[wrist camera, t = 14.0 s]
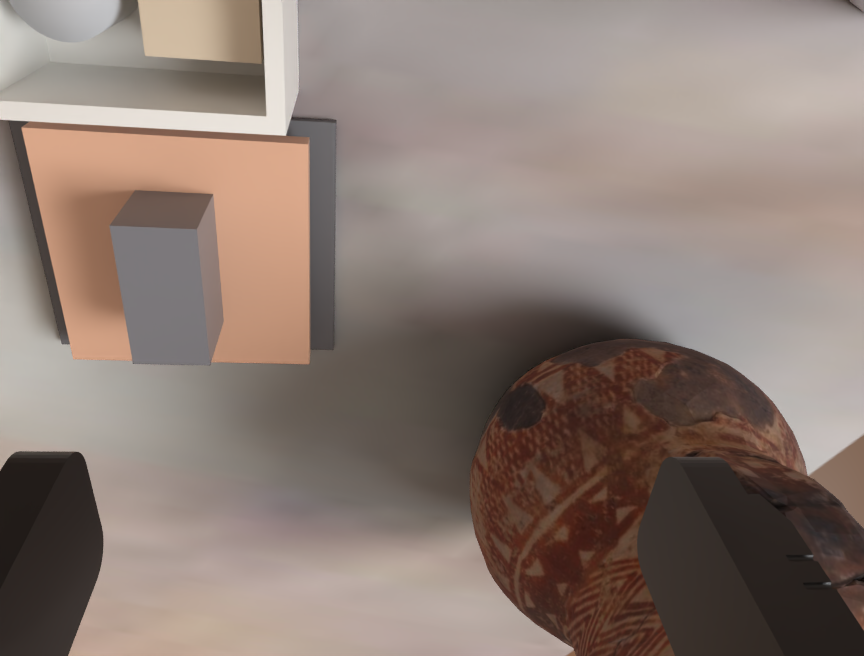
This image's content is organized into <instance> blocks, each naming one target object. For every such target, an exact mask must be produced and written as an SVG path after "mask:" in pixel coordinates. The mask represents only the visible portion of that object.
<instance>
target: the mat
mask: <svg viewBox="0 0 864 656" xmlns="http://www.w3.org/2000/svg"><path fill="white" fill-rule="evenodd" d="M28 122H30V121H15V120H9V124H10V128H11V132H12V136H13V140H14V145H15V149H16V153H17V157H18V161H19V166H20V170H21V174H22V178H23V183H24V187H25V191H26V195H27V199H28V204H29V208H30V212H31V216H32V220H33V225H34V229H35V233H36V237H37V242H38V246H39V250H40V254H41V258H42V263H43V267H44V271H45V275H46V279H47V284H48V288H49V292H50V296H51V301H52V305H53V309H54V313H55V317H56V322H57V326H58V330H59V334H60V338H61V343H62V344H70V342H69V337H68V333H67V328H66V324H65V319H64V315H63V310H62V306H61V302H60V297H59V293H58V288H57V284H56V279H55V275H54V270H53V266H52V262H51V257H50V253H49V248H48V244H47V239H46V235H45V230H44V226H43V222H42V217H41V213H40V208H39V204H38V199H37V195H36V190H35V186H34V182H33V177H32V173H31V168H30V164H29V159H28V155H27V150H26V146H25V142H24V137H23V133H22V128H21V127H23V126H24V125H25V124H27V123H28ZM280 136H281V135H280ZM286 136H297V137H309V153H310V349H320V350H333V348H334V273H335V186H336V120H322V119H305V118H291V120H290V123H289V127H288V130H287V134H286Z"/></svg>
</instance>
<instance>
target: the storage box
mask: <svg viewBox="0 0 864 656" xmlns="http://www.w3.org/2000/svg"><path fill="white" fill-rule="evenodd" d="M298 92H299V56H298V0H0V120H15V121H32V122H50V123H68V124H86V125H104V126H121V127H139V128H157V129H175V130H192V131H210V132H228V133H246V134H263V135H281V136H286V134H287V130H288V127H289V123H290V120H291V116H292V113H293V109H294V106H295V102H296V99H297V96H298Z"/></svg>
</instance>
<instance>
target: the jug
mask: <svg viewBox="0 0 864 656" xmlns="http://www.w3.org/2000/svg"><path fill="white" fill-rule="evenodd" d="M668 457H719V458H722V459H724V460H725V461H726V462H727V463H728V464H729V466H730V467H731V468H732V470H733V472H734V473H735V475H736V476H737V478H738V480H739V481H740V483H741V485H742V486H743V488H744V489H745V491H746V493H747V494H760V495H761V496H762V497H763V498H765V499H766V500H767V501H768V502H769V503H770V504H772V505H773V506H774V507H775V508H776V509H777V510H778V511H780V512H781V513H782V514H783V515H784V516H785V517H787V518H788V519H789V520H790V521H791V522H792V523H793V525H794V526H795V528H796V529H797V531H798V532H799V534H800V535H801V537H802V538H803V540H804V541H805V543H806V544H807V546H808V547H809V549H810V550H811V552H812V553H813V560H814V561H818V562H819V564H820V565H821V567H822V568H823V570H824V571H825V573H826V574H827V576H828V577H829V579H830V580H831V587H832V589H837V591H838V592H839V594H840V595H841V597H842V598H843V600H844V601H845V603H846V604H847V606H848V608H849V609H850V611H851V612H852V614H853V615H854V617H855V618H856V620H857V621H858V623H859V624H860V626H861V627H862V629H863V630H864V529H863V528H862V526H861V525H860V524H859V523H857V521H856V520H855V519H854V518H853V517H852V516H851V515H850V514H849V513H848V511H847V510H846V508H845V507H844V505H843V504H842V503H841V502H840V501H839V500H838V499H837V498H836V497H835V496H834V495H833V494H831V493H830V492H829V491H828V490H826V489H825V488H824V487H823V486H822V485H820V484H819V483H818V482H816V481H815V480H814V479H812V478H810V477H808V476H807V471H806V466H805V461H804V458H803V456H802V453H801V451H800V448H799V446H798V443H797V440H796V438H795V436H794V434H793V431H792V430H791V428H790V427H789V425H788V424H787V422H786V421H785V419H784V417H783V416H782V414H781V413H780V411H779V410H778V409H777V407H776V406H775V404H774V403H773V402H772V400H771V399H770V398H769V397H768V396H767V395H766V394H765V393H764V392H763V391H762V390H761V389H760V388H759V387H757V386H756V385H755V384H754V383H752V382H751V381H750V380H749V379H747V378H746V377H745V376H744V375H742V374H741V373H740V372H738V371H737V370H735V369H734V368H732V367H731V366H729V365H728V364H726V363H724V362H721V361H719V360H717V359H715V358H712V357H710V356H708V355H705V354H703V353H700V352H698V351H695V350H692V349H689V348H685V347H681V346H677V345H673V344H670V343H667V342H656V341H648V340H640V339H617V340H608V341H602V342H596V343H592V344H588V345H584V346H581V347H578V348H575V349H573V350H570V351H568V352H565V353H563V354H560V355H558V356H555V357H553V358H550V359H548V360H546V361H544V362H543V363H541V364H539V365H538V366H536V367H534V368H533V369H531V370H530V371H528V372H527V373H526V374H524V375H523V376H522V377H521V378H519V379H518V380H517V381H515V382H514V383H513V385H512V386H511V387H510V388H509V389H508V390H507V391H506V392H505V394H504V395H503V396H502V398H501V399H500V400H499V402H498V403H497V405H496V406H495V408H494V410H493V411H492V413H491V415H490V417H489V418H488V420H487V422H486V425H485V428H484V430H483V433H482V436H481V439H480V442H479V445H478V448H477V451H476V453H475V456H474V459H473V461H472V466H471V470H470V504H471V514H472V519H473V524H474V530H475V535H476V538H477V541H478V543H479V546H480V548H481V551H482V554H483V556H484V559H485V562H486V565H487V568H488V570H489V572H490V574H491V575H492V577H493V579H494V581H495V582H496V583H497V585H498V586H499V587H500V589H501V590H502V591H503V593H504V594H505V595H506V596H507V597H508V598H509V599H510V601H511V602H512V603H513V604H514V605H515V606H516V607H517V608H518V609H519V610H520V611H521V612H522V613H523V614H524V615H526V616H527V617H528V618H529V619H530V620H532V621H533V622H534V623H535V624H537V625H538V626H540V627H541V628H543V629H544V630H546V631H547V632H549V633H550V634H552V635H554V636H555V637H557V638H558V639H560V640H561V641H563V642H564V643H566V644H568V645H569V646H571V647H573V648H574V651H575V653H576V656H675V655H674V652H673V650H672V647H671V645H670V642H669V640H668V637H667V635H666V632H665V630H664V627H663V625H662V622H661V620H660V617H659V615H658V612H657V610H656V607H655V605H654V602H653V600H652V597H651V595H650V592H649V590H648V587H647V585H646V582H645V580H644V577H643V574H642V572H641V569H640V565H639V560H638V553H637V536H638V530H639V526H640V523H641V520H642V518H643V515H644V512H645V509H646V506H647V503H648V500H649V497H650V495H651V492H652V489H653V486H654V483H655V480H656V477H657V474H658V472H659V469H660V466H661V464H662V462H663V461H664V460H665V459H666V458H668Z"/></svg>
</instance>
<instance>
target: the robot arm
mask: <svg viewBox="0 0 864 656" xmlns="http://www.w3.org/2000/svg"><path fill="white" fill-rule="evenodd" d="M849 1H850V2H851V3H852V4H854V5H855V6H856V7H858V8H859V9H860V10H862V11H863V12H864V0H849ZM637 553H638V560H639V565H640V569H641V572H642V574H643V577H644V580H645V582H646V585H647V587H648V590H649V592H650V595H651V597H652V600H653V602H654V605H655V607H656V610H657V612H658V615H659V617H660V620H661V622H662V625H663V627H664V630H665V632H666V635H667V637H668V640H669V642H670V645H671V647H672V650H673V652H674V655H675V656H864V630H863V629H862V627H861V626H860V624H859V623H858V621H857V620H856V618H855V617H854V615H853V614H852V612H851V611H850V609H849V608H848V606H847V604H846V603H845V601H844V600H843V598H842V597H841V595H840V594H839V592H838V591H837V589H832V587H831V580H830V579H829V577H828V576H827V574H826V573H825V571H824V570H823V568H822V567H821V565H820V564H819V562H818V561H814V560H813V553H812V552H811V550H810V549H809V547H808V546H807V544H806V543H805V541H804V540H803V538H802V537H801V535H800V534H799V532H798V531H797V529H796V528H795V526H794V525H793V523H792V522H791V521H790V520H789V519H788V518H787V517H785V516H784V515H783V514H782V513H781V512H780V511H778V510H777V509H776V508H775V507H774V506H773V505H772V504H770V503H769V502H768V501H767V500H766V499H765V498H763V497H762V496H761V495H760V494H747V493H746V491H745V489H744V488H743V486H742V485H741V483H740V481H739V480H738V478H737V476H736V475H735V473H734V472H733V470H732V468H731V467H730V466H729V464H728V463H727V462H726V461H725V460H724V459H722V458H719V457H668V458H666V459H665V460H664V461H663V462H662V464H661V466H660V469H659V472H658V474H657V477H656V480H655V483H654V486H653V489H652V492H651V495H650V497H649V500H648V503H647V506H646V509H645V512H644V515H643V518H642V520H641V523H640V526H639V530H638V536H637ZM102 556H103V531H102V526H101V522H100V518H99V514H98V510H97V506H96V502H95V498H94V494H93V489H92V485H91V481H90V477H89V473H88V469H87V465H86V462H85V459H84V457H83V455H82V454H81V453H79V452H22V451H19V452H15V453H14V454H12V455H11V456H10V457H9V458H8V460H7V461H6V463H5V464H4V466H3V467H2V469H1V471H0V656H68V654H69V651H70V649H71V646H72V643H73V641H74V638H75V636H76V633H77V630H78V628H79V625H80V623H81V620H82V617H83V615H84V612H85V609H86V607H87V604H88V602H89V599H90V596H91V594H92V591H93V589H94V586H95V583H96V581H97V578H98V575H99V571H100V567H101V562H102Z"/></svg>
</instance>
